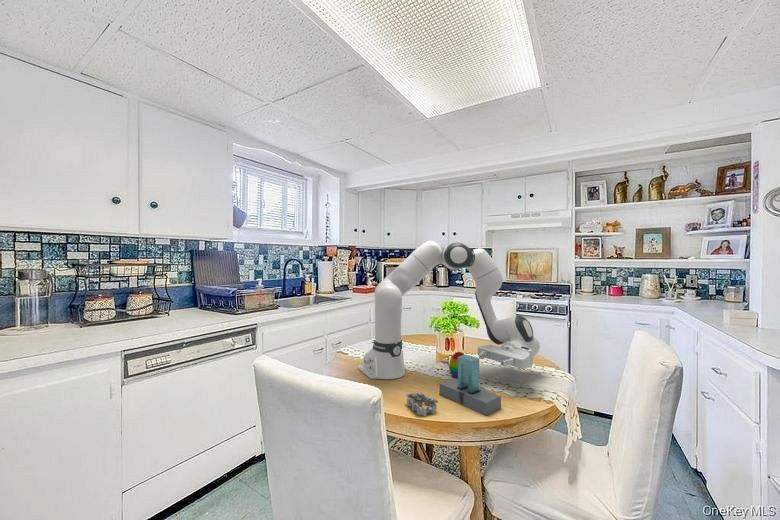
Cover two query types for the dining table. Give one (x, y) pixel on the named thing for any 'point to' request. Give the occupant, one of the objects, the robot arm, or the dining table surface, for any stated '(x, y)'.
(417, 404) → the egg carton
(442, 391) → the grey slotted block
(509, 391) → the dining table surface
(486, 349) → the robot arm
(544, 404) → the dining table surface
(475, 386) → the clip
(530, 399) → the dining table surface
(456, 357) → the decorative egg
